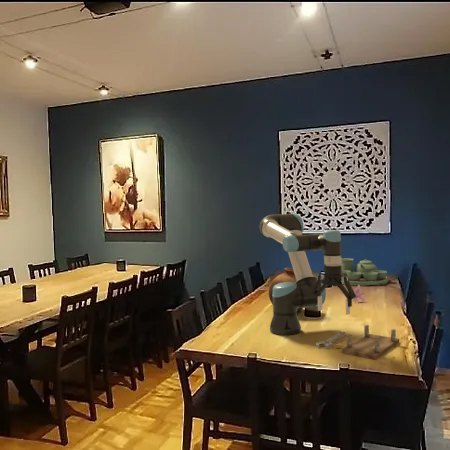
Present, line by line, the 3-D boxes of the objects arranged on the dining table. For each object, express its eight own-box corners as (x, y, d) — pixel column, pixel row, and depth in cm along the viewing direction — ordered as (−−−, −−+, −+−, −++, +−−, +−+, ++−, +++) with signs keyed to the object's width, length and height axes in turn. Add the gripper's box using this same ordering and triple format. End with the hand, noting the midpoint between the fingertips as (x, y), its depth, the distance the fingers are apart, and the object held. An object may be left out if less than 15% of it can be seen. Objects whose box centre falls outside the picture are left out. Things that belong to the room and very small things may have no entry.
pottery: (262, 310, 270) (261, 268, 269) (294, 305, 281) (293, 264, 279) (284, 318, 250) (283, 272, 248) (318, 312, 260) (317, 268, 259)
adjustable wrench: (340, 334, 219) (340, 330, 219) (353, 336, 215) (353, 333, 215) (313, 347, 201) (313, 343, 201) (327, 350, 196) (326, 346, 196)
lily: (343, 304, 283) (348, 292, 278) (344, 293, 293) (349, 281, 288) (363, 310, 281) (368, 298, 277) (363, 299, 291) (368, 287, 287)
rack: (342, 352, 191) (342, 337, 191) (368, 337, 212) (368, 323, 212) (375, 359, 182) (375, 343, 182) (399, 342, 203) (399, 327, 203)
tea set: (332, 285, 340) (332, 263, 339) (337, 277, 378) (336, 257, 377) (389, 287, 328) (389, 264, 327) (388, 278, 366) (388, 257, 365)
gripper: (303, 264, 211) (305, 310, 212) (355, 267, 195) (356, 317, 196) (312, 262, 216) (313, 307, 217) (363, 265, 200) (364, 313, 201)
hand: (333, 312), depth 206 cm, fingers open, 13 cm apart
